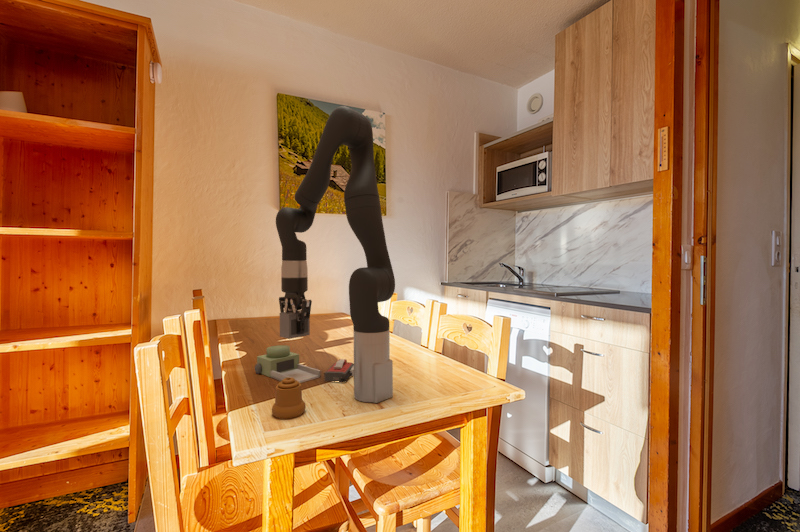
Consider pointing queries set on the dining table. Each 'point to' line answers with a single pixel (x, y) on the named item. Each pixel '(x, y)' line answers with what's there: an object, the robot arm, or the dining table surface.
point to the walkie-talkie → (339, 371)
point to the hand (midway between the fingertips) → (295, 332)
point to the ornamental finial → (288, 399)
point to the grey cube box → (292, 325)
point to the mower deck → (284, 365)
